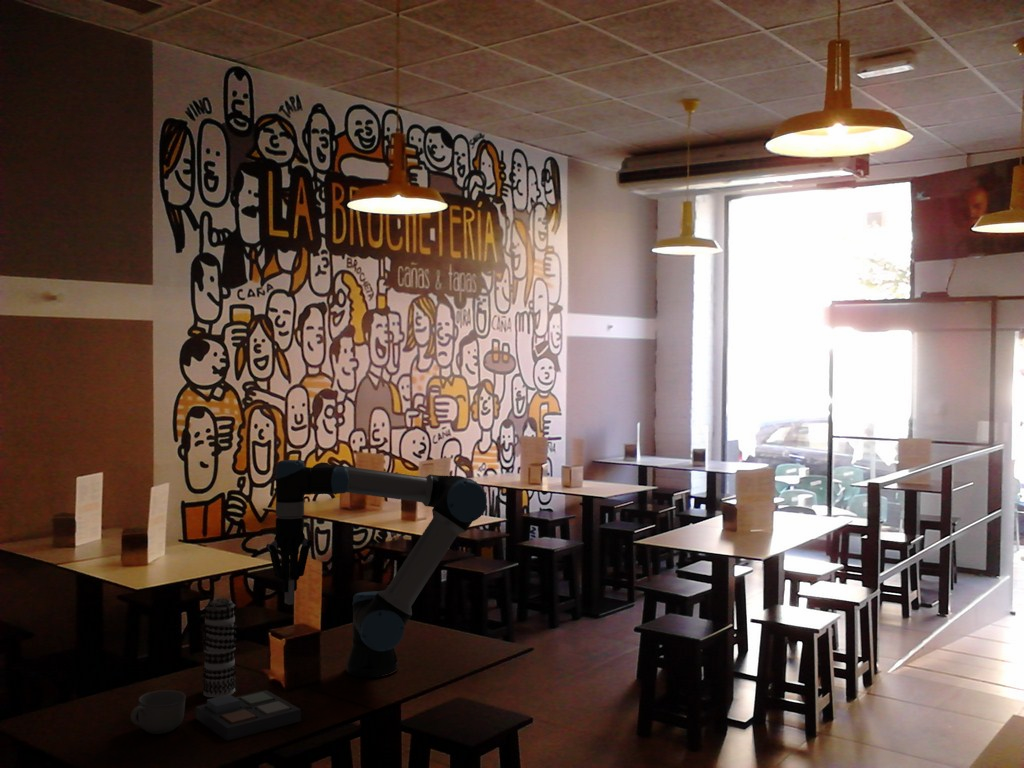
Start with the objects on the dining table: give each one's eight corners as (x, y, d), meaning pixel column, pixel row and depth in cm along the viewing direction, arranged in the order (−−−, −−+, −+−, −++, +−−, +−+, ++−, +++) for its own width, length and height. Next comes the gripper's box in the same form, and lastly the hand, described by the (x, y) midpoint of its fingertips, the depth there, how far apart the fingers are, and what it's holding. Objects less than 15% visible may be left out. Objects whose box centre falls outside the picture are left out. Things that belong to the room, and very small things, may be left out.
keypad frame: (266, 701, 234) (266, 690, 234) (300, 721, 220) (300, 709, 220) (195, 718, 222) (195, 706, 222) (227, 741, 207) (227, 728, 207)
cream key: (278, 712, 225) (278, 701, 225) (289, 719, 220) (289, 707, 220) (256, 718, 221) (256, 706, 221) (267, 725, 216) (267, 713, 216)
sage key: (262, 703, 231) (262, 692, 231) (273, 709, 227) (273, 698, 227) (240, 708, 227) (240, 697, 228) (251, 715, 223) (251, 703, 223)
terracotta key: (244, 721, 219) (245, 709, 219) (255, 728, 214) (255, 716, 214) (221, 727, 215) (221, 715, 215) (231, 734, 210) (232, 722, 210)
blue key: (229, 706, 226) (229, 694, 226) (239, 712, 221) (239, 700, 221) (206, 711, 222) (206, 699, 222) (216, 718, 217) (216, 706, 217)
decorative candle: (194, 693, 240) (195, 601, 240) (223, 684, 248) (223, 595, 248) (214, 700, 235) (215, 606, 235) (243, 691, 242) (244, 599, 243)
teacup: (171, 718, 222) (171, 686, 222) (194, 728, 215) (194, 695, 215) (116, 734, 211) (116, 700, 211) (139, 746, 204) (139, 711, 205)
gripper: (304, 513, 248) (304, 597, 248) (261, 517, 240) (260, 604, 240) (318, 516, 243) (317, 602, 242) (274, 520, 234) (273, 609, 234)
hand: (289, 603), depth 241 cm, fingers closed
